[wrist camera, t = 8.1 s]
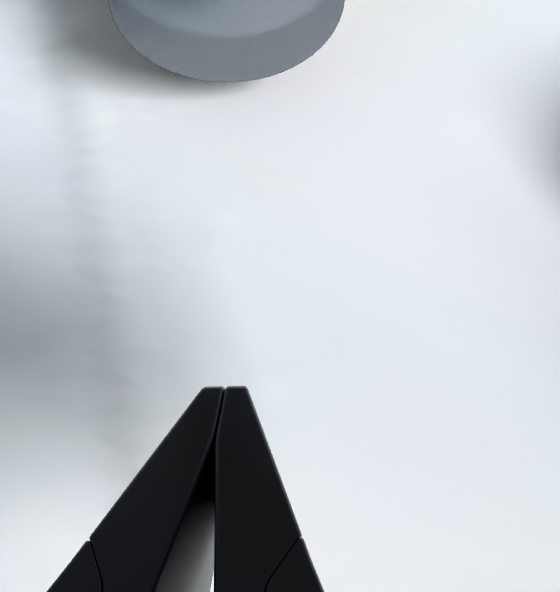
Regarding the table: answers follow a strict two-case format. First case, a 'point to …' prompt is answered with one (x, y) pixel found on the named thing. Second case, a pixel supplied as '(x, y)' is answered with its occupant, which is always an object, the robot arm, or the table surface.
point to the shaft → (226, 34)
